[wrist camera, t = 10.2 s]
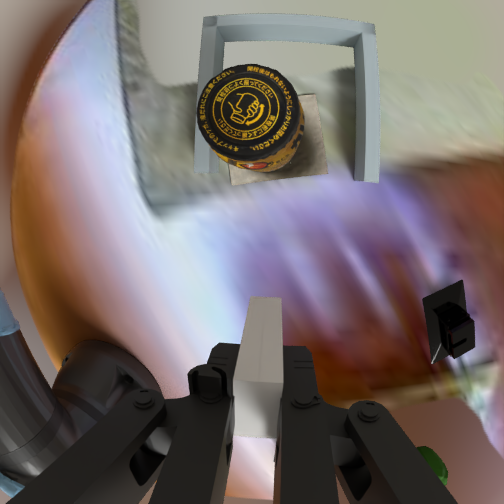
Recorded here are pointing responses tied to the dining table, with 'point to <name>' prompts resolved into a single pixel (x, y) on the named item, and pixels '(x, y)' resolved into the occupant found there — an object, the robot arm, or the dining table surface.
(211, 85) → the condiment
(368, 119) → the bay
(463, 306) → the black angular block
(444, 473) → the bell pepper
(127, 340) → the dining table surface
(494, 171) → the dining table surface
